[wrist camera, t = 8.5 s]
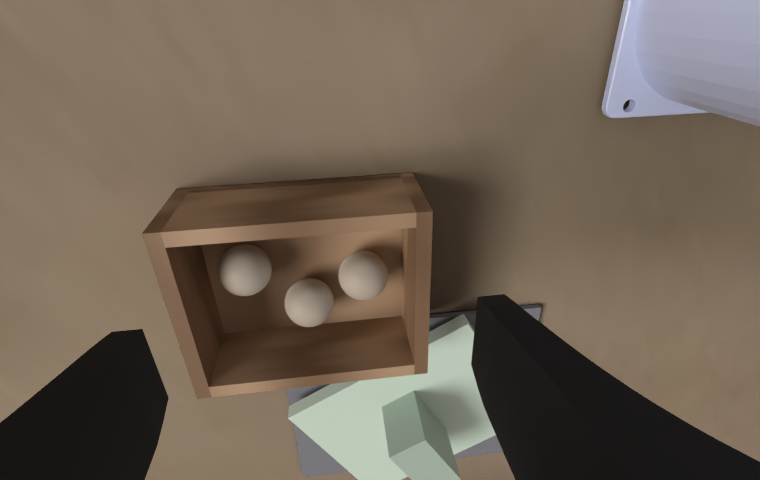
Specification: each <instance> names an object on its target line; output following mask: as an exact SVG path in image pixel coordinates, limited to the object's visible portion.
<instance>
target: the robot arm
mask: <svg viewBox="0 0 760 480" xmlns="http://www.w3.org/2000/svg"><path fill="white" fill-rule="evenodd" d="M627 100H629V105H628V107H627V108H626V109H624V110H623V105H624V103H625V102H626V101H627ZM602 112H603V114H604V115H606V116H607V117H610V118H629V117H645V116H662V115H678V114H695V113H714V114H717V115H721V116H724V117H728V118H731V119H735V120H738V121H742V122H745V123H748V124H752V125H755V126H759V127H760V0H624V4H623V9H622V13H621V18H620V23H619V27H618V32H617V37H616V41H615V46H614V51H613V55H612V60H611V65H610V69H609V74H608V79H607V83H606V88H605V93H604V97H603V102H602ZM471 366H472V369H473V373H474V376H475V380H476V383H477V387H478V390H479V393H480V396H481V400H482V403H483V406H484V408H485V411H486V413H487V416H488V418H489V420H490V422H491V425H492V427H493V429H494V432H495V434H496V436H497V439H498V441H499V443H500V445H501V448H502V450H503V452H504V455H505V457H506V459H507V461H508V464H509V466H510V468H511V470H512V473H513V475H514V477H515V480H760V462H759V461H757V460H755V459H753V458H751V457H749V456H747V455H745V454H743V453H741V452H740V451H738V450H736V449H734V448H732V447H730V446H728V445H726V444H724V443H722V442H720V441H719V440H717V439H715V438H713V437H711V436H709V435H708V434H706V433H704V432H702V431H700V430H699V429H697V428H695V427H693V426H692V425H690V424H688V423H687V422H685V421H683V420H681V419H680V418H678V417H676V416H675V415H673V414H671V413H670V412H668V411H666V410H665V409H663V408H661V407H660V406H658V405H656V404H655V403H653V402H651V401H650V400H648V399H647V398H645V397H643V396H642V395H640V394H639V393H637V392H636V391H634V390H632V389H631V388H630V387H628V386H627V385H625V384H624V383H622V382H621V381H619V380H618V379H616V378H615V377H613V376H612V375H610V374H609V373H607V372H606V371H604V370H603V369H602V368H600V367H599V366H597V365H596V364H595V363H593V362H592V361H590V360H589V359H588V358H586V357H585V356H583V355H582V354H581V353H579V352H578V351H577V350H575V349H574V348H573V347H571V346H570V345H569V344H567V343H566V342H565V341H563V340H562V339H561V338H559V337H558V336H557V335H556V334H554V333H553V332H552V331H550V330H549V329H548V328H547V327H545V326H544V325H543V324H542V323H540V322H539V321H538V320H536V319H535V318H534V317H533V316H531V315H530V314H529V313H528V312H526V311H525V310H524V309H523V308H521V307H520V306H519V305H518V304H516V303H515V302H514V301H512V300H511V299H510V298H508V297H507V296H506V295H504V294H503V295H493V296H483V297H478V300H477V310H476V320H475V330H474V340H473V350H472V360H471ZM167 402H168V395H167V393H166V390H165V388H164V385H163V382H162V380H161V377H160V374H159V372H158V369H157V367H156V364H155V361H154V359H153V356H152V353H151V351H150V348H149V346H148V343H147V340H146V338H145V335H144V332H143V330H142V329H139V330H128V331H118V332H111V333H110V334H109V335H107V336H106V337H105V338H103V339H102V340H101V341H99V342H98V343H97V344H96V345H94V346H93V347H92V348H91V349H89V350H88V351H87V352H86V353H85V354H83V355H82V356H81V357H80V358H78V359H77V360H76V361H75V362H74V363H72V364H71V365H70V366H69V367H68V368H67V369H65V370H64V371H63V372H62V373H61V374H59V375H58V376H57V377H56V378H55V379H53V380H52V381H51V382H50V383H49V384H47V385H46V386H45V387H44V388H42V389H41V390H40V391H39V392H38V393H36V394H35V395H34V396H33V397H32V398H30V399H29V400H28V401H27V402H25V403H24V404H23V405H22V406H21V407H19V408H18V409H17V410H16V411H15V412H13V413H12V414H11V415H10V416H8V417H7V418H6V419H5V420H3V421H2V422H1V423H0V480H145V477H146V474H147V471H148V469H149V466H150V463H151V461H152V458H153V455H154V453H155V450H156V447H157V444H158V440H159V436H160V432H161V428H162V424H163V420H164V415H165V411H166V406H167Z"/></svg>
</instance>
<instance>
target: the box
mask: <svg viewBox="0 0 760 480" xmlns="http://www.w3.org/2000/svg"><path fill="white" fill-rule="evenodd" d="M432 228H433V210H432V208H431V206H430V205H429V203H428V201H427V199H426V197H425V195H424V193H423V191H422V189H421V187H420V186H419V184H418V182H417V180H416V178H415V176H414V174H413V173H400V174H385V175H371V176H356V177H342V178H327V179H313V180H298V181H284V182H269V183H255V184H241V185H226V186H212V187H197V188H183V189H176V190H175V191H174V193H173V194H172V195H171V197H170V198H169V199H168V200H167V202H166V203H165V204H164V206H163V207H162V208H161V210H160V211H159V212H158V214H157V215H156V216H155V217H154V219H153V220H152V221H151V223H150V224H149V225H148V227H147V228H146V229H145V231H144V232H143V233H142V236H143V239H144V242H145V245H146V248H147V251H148V253H149V256H150V259H151V262H152V265H153V268H154V271H155V274H156V277H157V280H158V283H159V286H160V289H161V292H162V295H163V298H164V301H165V304H166V307H167V310H168V313H169V316H170V319H171V322H172V325H173V328H174V331H175V334H176V337H177V340H178V343H179V346H180V349H181V352H182V355H183V358H184V361H185V364H186V367H187V370H188V373H189V376H190V379H191V382H192V385H193V387H194V390H195V393H196V396H197V399H199V398H208V397H217V396H227V395H236V394H245V393H254V392H263V391H272V390H281V389H290V388H299V387H308V386H317V385H326V384H335V383H344V382H353V381H362V380H371V379H380V378H389V377H398V376H407V375H416V374H425V373H428V346H429V316H430V287H431V257H432Z"/></svg>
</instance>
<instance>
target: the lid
mask: <svg viewBox="0 0 760 480" xmlns="http://www.w3.org/2000/svg"><path fill="white" fill-rule="evenodd" d="M473 340H474V329H473V327H472V326H471V324H470V323H469V321H468V320H467V318H466V317H465V315H464V314H462V315H460V316H458V317H456V318H454V319H452V320H451V321H449V322H447V323H445V324H443V325H441V326H439V327H437V328H435V329H434V330H432V331H430V332H429V346H428V373H425V374H416V375H407V376H398V377H389V378H380V379H371V380H362V381H353V382H344V383H335V384H330V385H328V386H326V387H324V388H322V389H320V390H318V391H317V392H315V393H313V394H311V395H309V396H307V397H305V398H303V399H301V400H300V401H298V402H296V403H294V404H292V405H290V406H289V413H288V419H289V420H291V421H292V422H293V423H294V424H295V425H296V426H297V427H299V428H300V429H301V430H302V431H303V432H304V433H305V434H307V435H308V436H309V437H310V438H311V439H312V440H313V441H314V442H316V443H317V444H318V445H319V446H320V447H321V448H322V449H324V450H325V451H326V452H327V453H328V454H329V455H330V456H332V457H333V458H334V459H335V460H336V461H337V462H338V463H340V464H341V465H342V466H343V467H344V468H345V469H346V470H348V471H349V472H350V473H351V474H352V475H353V476H354V477H356V478H357V479H358V480H402V479H404V478H406V477H409V478H410V479H411V480H461V478H460V475H459V471H458V468H457V464H456V461H455V458H454V455H455V454H457V453H459V452H461V451H463V450H465V449H467V448H469V447H472V446H474V445H476V444H478V443H480V442H482V441H484V440H486V439H488V438H491V437H493V436H495V435H496V434H495V432H494V429H493V427H492V425H491V422H490V420H489V418H488V416H487V413H486V411H485V408H484V406H483V403H482V400H481V396H480V393H479V390H478V387H477V383H476V380H475V376H474V373H473V369H472V366H471V360H472V350H473Z"/></svg>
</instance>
